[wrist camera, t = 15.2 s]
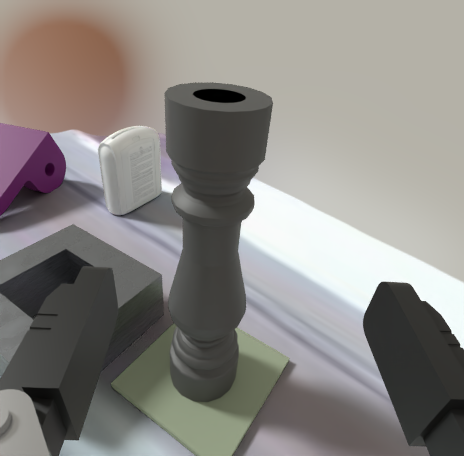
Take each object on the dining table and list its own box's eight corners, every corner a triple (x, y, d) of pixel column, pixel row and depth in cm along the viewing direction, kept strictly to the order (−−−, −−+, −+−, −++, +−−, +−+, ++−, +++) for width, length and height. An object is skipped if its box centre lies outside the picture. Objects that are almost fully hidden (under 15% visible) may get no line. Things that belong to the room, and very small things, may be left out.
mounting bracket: (14, 255, 53) (72, 167, 61) (-23, 227, 45) (48, 132, 54) (-36, 241, 54) (26, 157, 63) (-80, 213, 47) (-3, 122, 55)
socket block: (46, 420, 28) (27, 379, 25) (-40, 335, 34) (-65, 292, 30) (163, 314, 38) (161, 274, 35) (81, 262, 44) (73, 224, 40)
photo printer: (147, 186, 62) (142, 117, 54) (165, 193, 60) (163, 123, 53) (102, 210, 54) (89, 134, 47) (121, 219, 52) (112, 142, 45)
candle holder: (159, 392, 30) (138, 101, 16) (182, 336, 35) (182, 76, 21) (228, 410, 29) (270, 121, 15) (241, 350, 34) (283, 90, 20)
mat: (220, 475, 26) (221, 472, 26) (111, 387, 31) (110, 383, 30) (288, 361, 34) (289, 358, 34) (194, 306, 39) (194, 302, 39)
